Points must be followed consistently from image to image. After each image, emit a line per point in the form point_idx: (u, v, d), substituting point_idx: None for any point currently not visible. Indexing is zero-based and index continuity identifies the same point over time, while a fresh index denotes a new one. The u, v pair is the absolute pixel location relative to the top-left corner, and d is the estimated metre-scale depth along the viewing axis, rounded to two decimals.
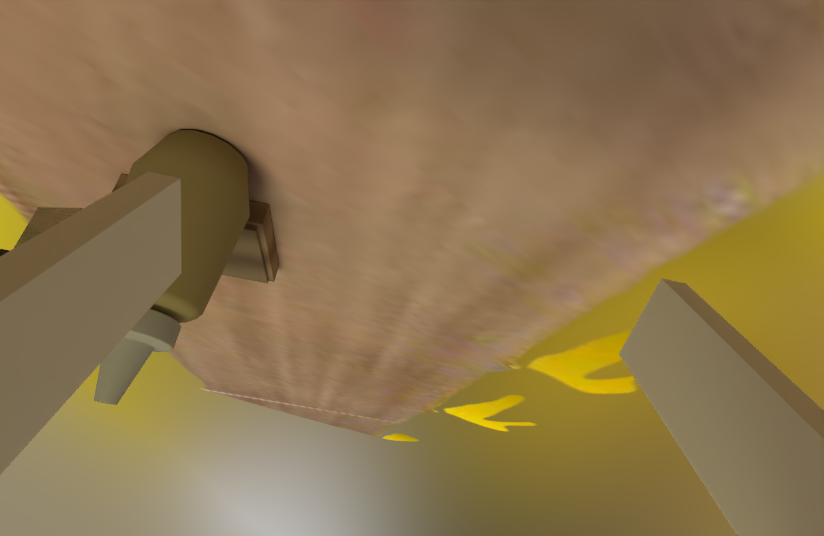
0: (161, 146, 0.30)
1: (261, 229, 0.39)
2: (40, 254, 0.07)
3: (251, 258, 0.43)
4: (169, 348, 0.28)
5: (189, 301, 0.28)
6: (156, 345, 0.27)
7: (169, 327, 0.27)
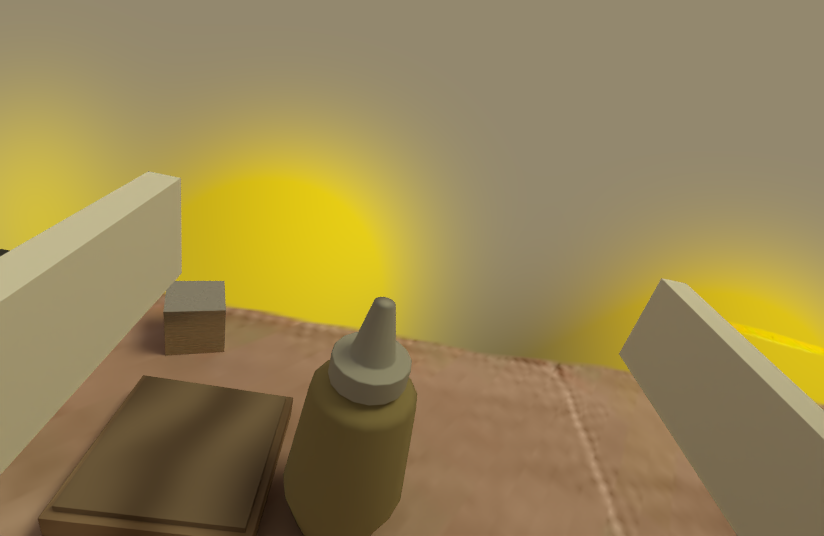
0: None
1: None
2: (40, 254, 0.07)
3: (157, 501, 0.28)
4: (362, 380, 0.24)
5: (385, 430, 0.25)
6: (375, 373, 0.24)
7: (382, 397, 0.25)
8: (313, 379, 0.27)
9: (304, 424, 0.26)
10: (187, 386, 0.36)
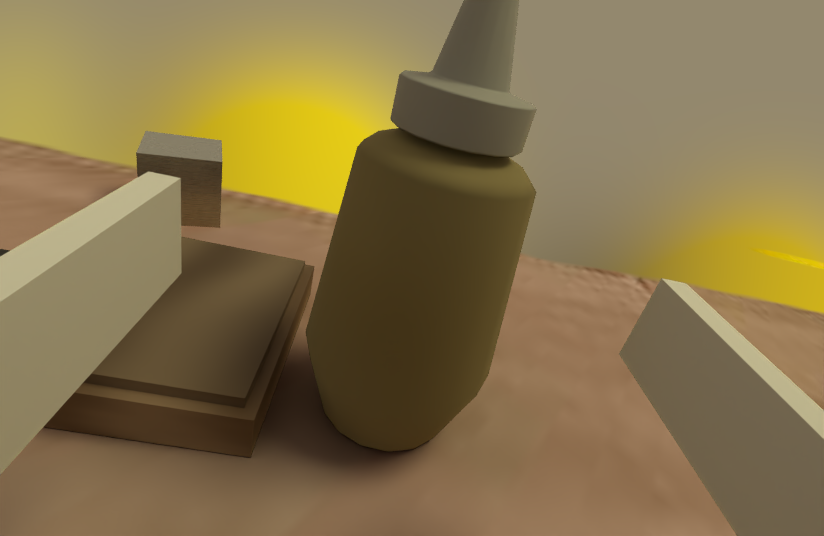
0: None
1: (228, 413, 0.17)
2: (40, 254, 0.07)
3: None
4: (464, 93, 0.13)
5: (497, 198, 0.14)
6: (483, 92, 0.14)
7: (495, 135, 0.14)
8: (363, 142, 0.16)
9: (348, 213, 0.16)
10: None
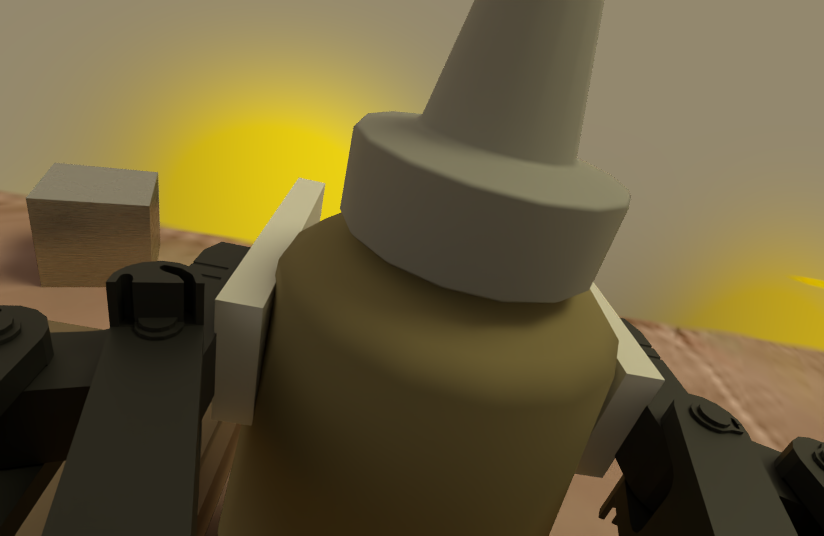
0: None
1: None
2: (276, 245, 0.09)
3: None
4: (492, 182, 0.06)
5: (562, 399, 0.06)
6: (532, 174, 0.06)
7: (558, 267, 0.06)
8: (292, 244, 0.08)
9: (261, 385, 0.08)
10: None
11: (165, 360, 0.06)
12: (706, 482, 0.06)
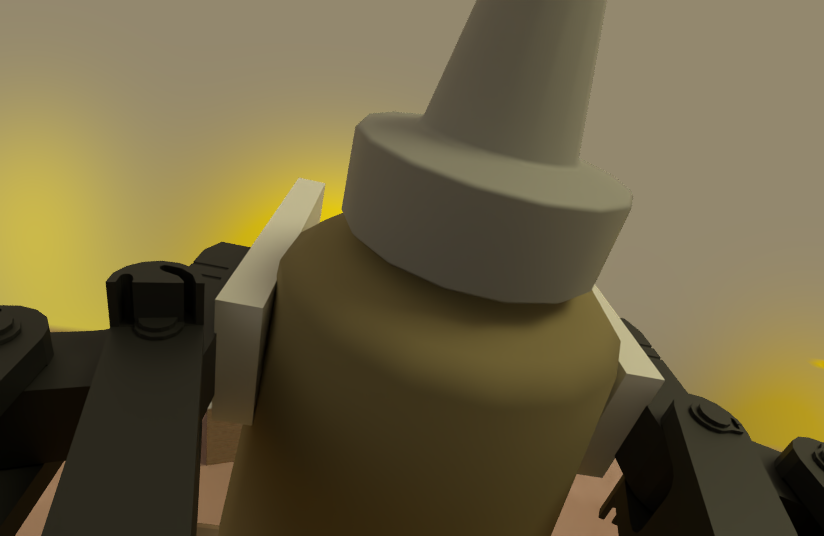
0: None
1: None
2: (276, 245, 0.09)
3: None
4: (494, 183, 0.06)
5: (563, 400, 0.06)
6: (535, 175, 0.06)
7: (561, 268, 0.06)
8: (294, 245, 0.08)
9: (263, 386, 0.08)
10: None
11: (165, 360, 0.06)
12: (706, 482, 0.06)
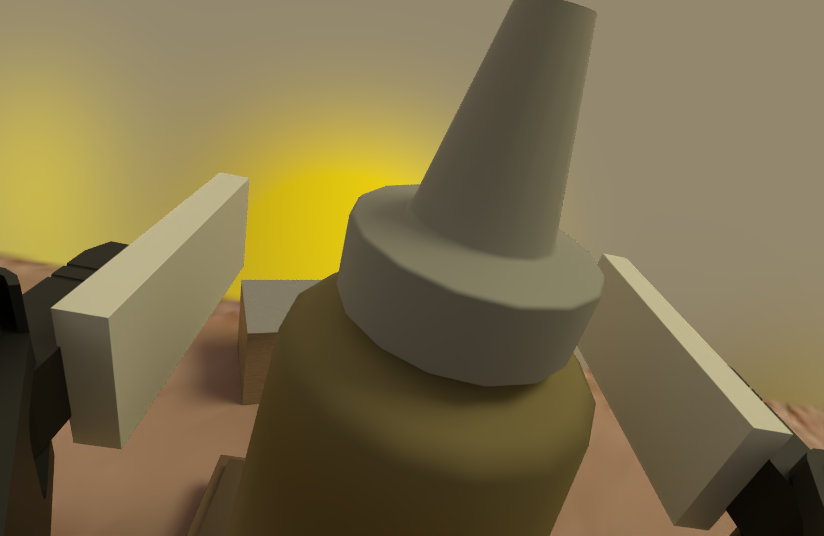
0: None
1: None
2: (158, 245, 0.08)
3: None
4: (474, 288, 0.06)
5: (538, 474, 0.07)
6: (512, 272, 0.07)
7: (535, 357, 0.07)
8: (292, 311, 0.09)
9: (262, 445, 0.09)
10: None
11: None
12: None
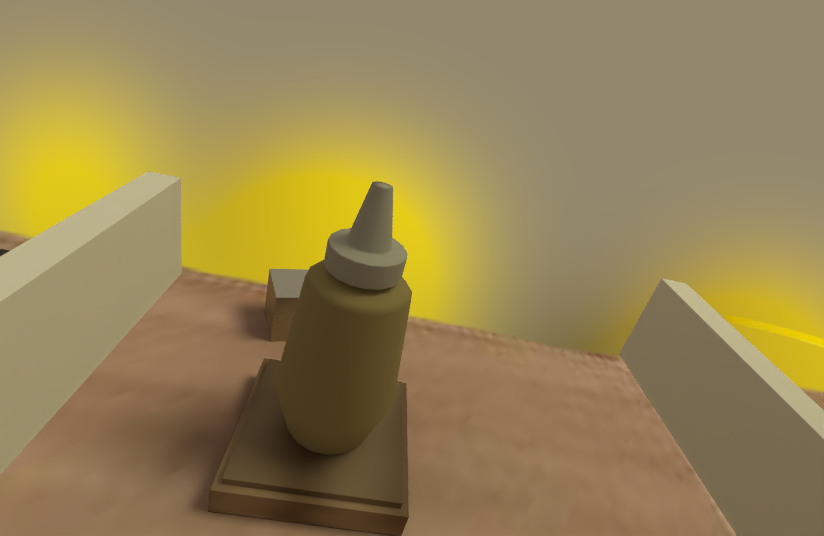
0: None
1: (393, 512, 0.28)
2: (40, 254, 0.07)
3: (315, 476, 0.29)
4: (359, 260, 0.24)
5: (380, 314, 0.25)
6: (372, 257, 0.25)
7: (378, 280, 0.25)
8: (309, 271, 0.27)
9: (299, 315, 0.26)
10: None
11: None
12: None
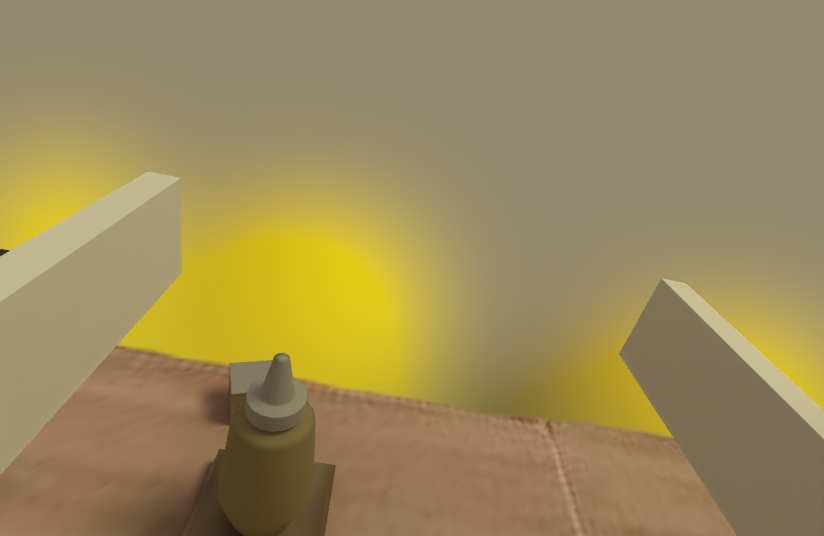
0: None
1: None
2: (40, 254, 0.07)
3: None
4: (265, 414, 0.33)
5: (283, 449, 0.34)
6: (275, 409, 0.34)
7: (281, 425, 0.34)
8: (235, 410, 0.36)
9: (228, 444, 0.36)
10: None
11: None
12: None
